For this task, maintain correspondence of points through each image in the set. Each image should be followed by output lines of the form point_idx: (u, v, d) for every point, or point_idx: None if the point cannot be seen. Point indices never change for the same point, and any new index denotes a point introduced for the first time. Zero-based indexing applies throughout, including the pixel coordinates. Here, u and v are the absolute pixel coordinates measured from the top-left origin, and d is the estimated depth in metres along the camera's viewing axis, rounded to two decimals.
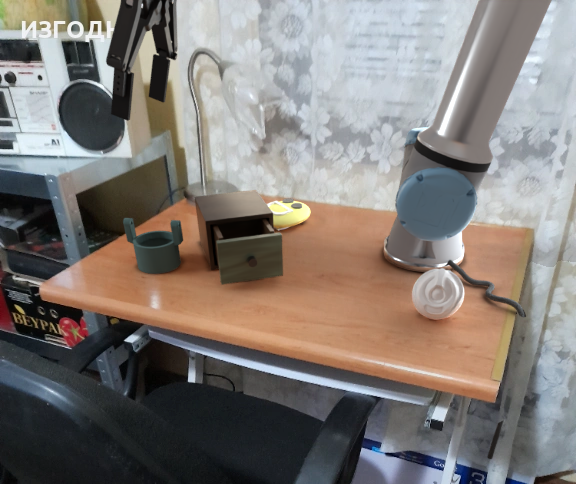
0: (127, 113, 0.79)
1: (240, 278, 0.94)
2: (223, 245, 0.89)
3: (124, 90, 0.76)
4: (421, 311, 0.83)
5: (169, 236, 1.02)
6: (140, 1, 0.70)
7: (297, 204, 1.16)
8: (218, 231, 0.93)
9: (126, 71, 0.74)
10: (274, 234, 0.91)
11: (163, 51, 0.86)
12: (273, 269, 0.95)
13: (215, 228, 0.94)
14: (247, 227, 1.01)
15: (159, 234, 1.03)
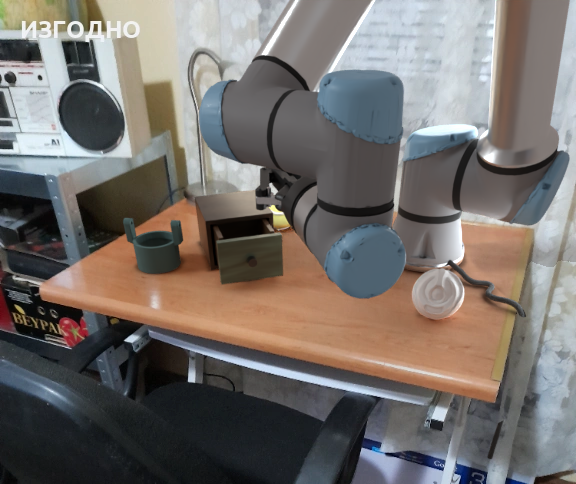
0: None
1: (240, 278, 0.94)
2: (223, 245, 0.89)
3: None
4: (421, 311, 0.83)
5: (169, 236, 1.02)
6: None
7: None
8: (218, 231, 0.93)
9: None
10: (274, 234, 0.91)
11: None
12: (273, 269, 0.95)
13: (215, 228, 0.94)
14: (247, 227, 1.01)
15: (159, 234, 1.03)
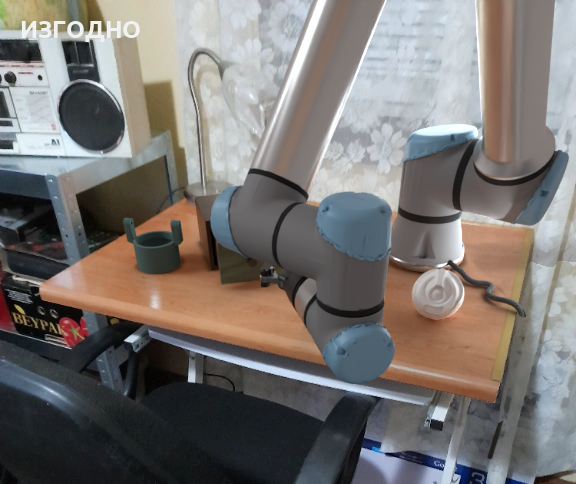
0: None
1: (240, 278, 0.94)
2: None
3: None
4: (421, 311, 0.83)
5: (169, 236, 1.02)
6: None
7: None
8: None
9: None
10: None
11: None
12: None
13: None
14: None
15: (159, 234, 1.03)
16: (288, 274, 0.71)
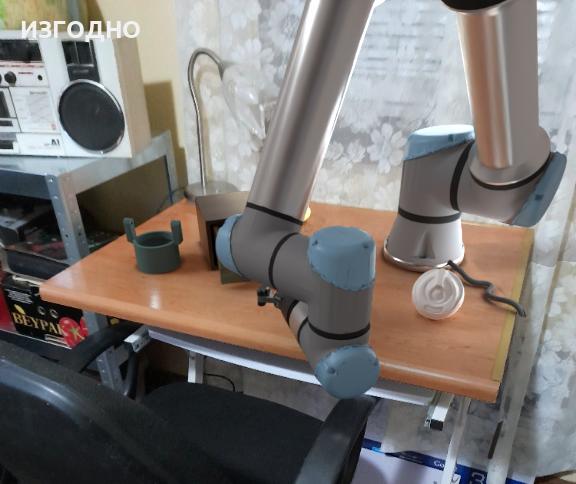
0: None
1: (240, 278, 0.94)
2: None
3: None
4: (421, 311, 0.83)
5: (169, 236, 1.02)
6: None
7: None
8: None
9: None
10: None
11: None
12: None
13: (215, 228, 0.94)
14: None
15: (159, 234, 1.03)
16: (283, 294, 0.77)
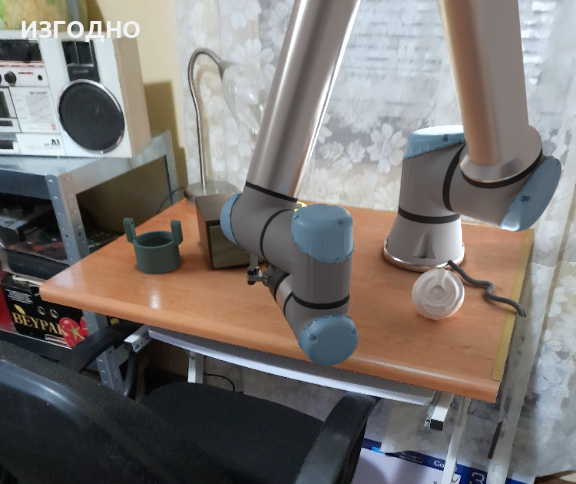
0: None
1: (232, 262, 0.99)
2: (216, 230, 0.95)
3: None
4: (421, 311, 0.83)
5: (169, 236, 1.02)
6: None
7: (297, 204, 1.16)
8: None
9: None
10: None
11: None
12: None
13: None
14: None
15: (159, 234, 1.03)
16: (271, 273, 0.82)
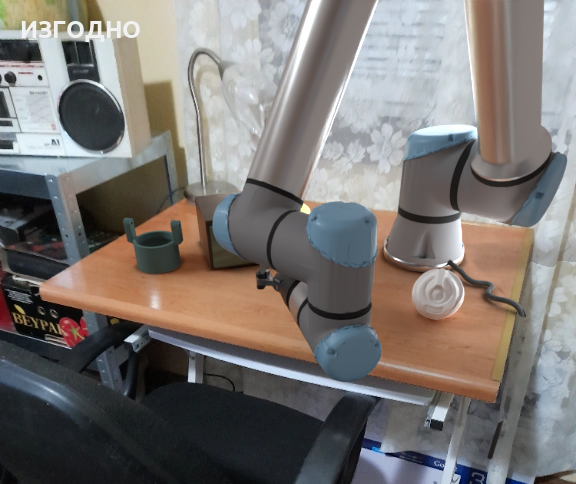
0: None
1: (232, 262, 0.99)
2: None
3: None
4: (421, 311, 0.83)
5: (169, 236, 1.02)
6: None
7: None
8: None
9: None
10: None
11: None
12: None
13: None
14: None
15: (159, 234, 1.03)
16: (283, 277, 0.75)
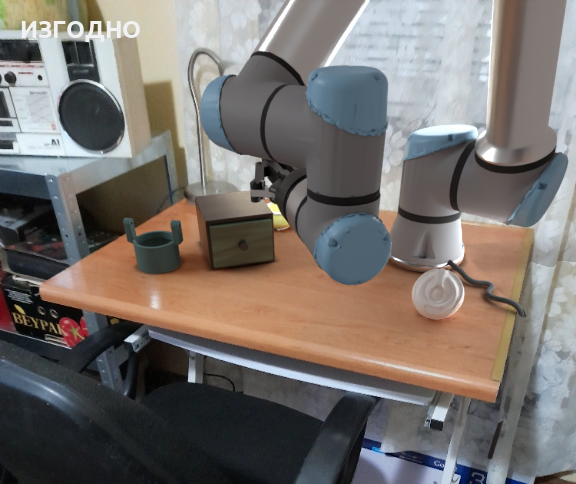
0: None
1: (232, 262, 0.99)
2: (216, 230, 0.95)
3: None
4: (421, 311, 0.83)
5: (169, 236, 1.02)
6: None
7: None
8: None
9: None
10: (264, 220, 0.97)
11: None
12: (264, 253, 1.00)
13: None
14: None
15: (159, 234, 1.03)
16: (280, 186, 0.67)
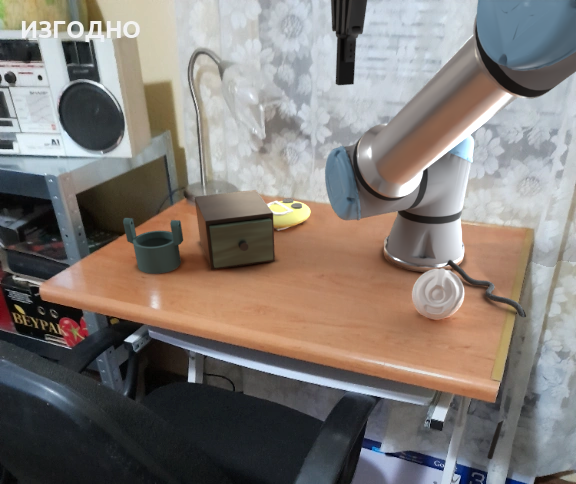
0: (353, 77, 0.88)
1: (232, 262, 0.99)
2: (216, 230, 0.95)
3: None
4: (421, 311, 0.83)
5: (169, 236, 1.02)
6: None
7: (297, 204, 1.16)
8: None
9: (355, 37, 0.84)
10: (264, 220, 0.97)
11: None
12: (264, 253, 1.00)
13: None
14: None
15: (159, 234, 1.03)
16: None
